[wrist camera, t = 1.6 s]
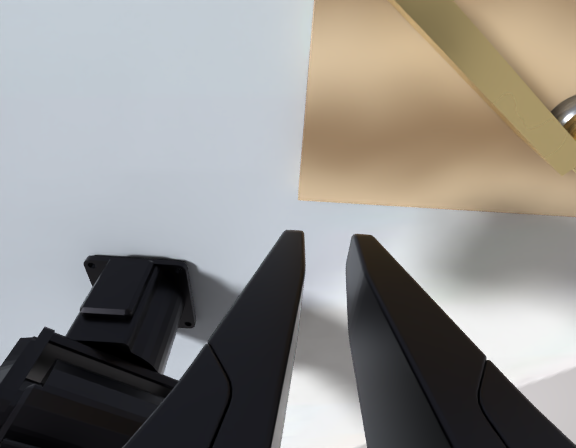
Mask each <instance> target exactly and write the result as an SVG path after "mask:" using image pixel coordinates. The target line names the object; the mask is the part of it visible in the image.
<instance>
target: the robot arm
mask: <svg viewBox="0 0 576 448" xmlns="http://www.w3.org/2000/svg"><path fill="white" fill-rule="evenodd" d="M305 266H306V264H305V240H304V232H303V231H298V230H285V231H284V232H283V234H282V235H281V236H280V238H279V239H278V241H277V242H276V244H275V245H274V246H273V248H272V249H271V251H270V252H269V254H268V255H267V257H266V258H265V259H264V261H263V262H262V264H261V265H260V267H259V268H258V269H257V271H256V272H255V274H254V275H253V277H252V278H251V280H250V281H249V282H248V284H247V285H246V287H245V288H244V290H243V291H242V293H241V294H240V295H239V297H238V298H237V300H236V301H235V303H234V304H233V305H232V307H231V308H230V310H229V311H228V313H227V314H226V316H225V317H224V318H223V320H222V321H221V323H220V324H219V326H218V327H217V328H216V330H215V331H214V333H213V334H212V336H211V337H210V339H209V340H208V344H205V345H204V347H203V348H202V350H201V351H200V353H199V354H198V355H197V357H196V358H195V360H194V361H193V363H192V364H191V365H190V367H189V368H188V369H187V371H186V372H185V373H184V375H183V376H182V377H181V379H180V380H179V381H178V380H175V379H173V378H170V377H168V376H165V375H163V373H164V370H165V367H166V364H167V361H168V358H169V354H170V351H171V348H172V345H173V342H174V339H175V336H176V332H177V329H178V328H193V327H194V326H195V323H196V316H195V310H194V303H193V297H192V291H191V285H190V279H189V273H188V267H187V264H185V263H184V262H182V261H175V260H158V259H141V258H124V257H107V256H88V257H87V259H86V260H85V262H84V267H85V269H86V272H87V274H88V277H89V279H90V282H91V284H92V286H93V287H92V289H91V291H90V292H89V294H88V296H87V297H86V299H85V301H84V302H83V304H82V306H81V307H80V312H79V314H78V316H77V317H76V319H75V321H74V322H73V324H72V326H71V327H70V329H69V331H68V332H67V334H66V336H62V335H60V334H57V333H55V330H52V329H50V328H47V327H44V329H43V330H42V331H41V333H40V334H39V336H38V337H31V338H20V339H19V341H18V342H17V344H16V345H15V346H14V348H13V349H12V351H11V352H10V354H9V355H8V356H7V358H6V359H5V361H4V362H3V363H2V365H1V366H0V448H280V446H281V439H282V433H283V427H284V421H285V414H286V408H287V402H288V396H289V389H290V383H291V377H292V371H293V364H294V358H295V352H296V346H297V339H298V331H299V322H300V314H301V305H302V296H303V288H304V279H305ZM178 268H180V269H178ZM346 291H347V315H348V333H349V341H350V348H351V354H352V360H353V366H354V372H355V378H356V384H357V390H358V396H359V402H360V408H361V414H362V419H363V425H364V431H365V437H366V443H367V448H576V445H575V444H574V443H573V442H572V441H571V440H570V439H568V438H567V437H566V436H565V435H564V434H563V433H562V432H561V431H560V430H559V429H558V428H557V427H556V426H555V425H554V424H553V423H552V422H550V421H549V420H548V419H547V418H546V417H545V416H544V415H543V414H542V413H541V412H540V411H539V410H538V409H537V408H536V407H535V406H534V405H533V404H532V403H531V402H530V401H529V400H528V399H527V398H526V397H525V396H524V395H523V394H522V393H521V392H520V391H519V390H518V389H517V388H516V387H515V386H514V385H513V384H512V383H511V382H510V381H509V380H508V379H507V378H506V377H505V376H504V374H503V373H502V372H501V371H500V370H499V369H498V368H497V367H496V366H495V365H494V364H493V363H492V362H491V361H490V360H486V356H485V355H484V353H483V352H482V351H481V350H480V349H479V348H478V347H477V346H476V345H475V344H474V343H473V342H472V341H471V340H470V339H469V338H468V336H467V335H466V334H465V333H464V332H463V331H462V330H461V329H460V328H459V327H458V326H457V325H456V324H455V323H454V322H453V320H452V319H451V318H450V317H449V316H448V315H447V314H446V313H445V312H444V311H443V310H442V309H441V308H440V307H439V306H438V305H437V303H436V302H435V301H434V300H433V299H432V298H431V297H430V296H429V295H428V294H427V293H426V292H425V291H424V290H423V289H422V288H421V286H420V285H419V284H418V283H417V282H416V281H415V280H414V279H413V278H412V277H411V276H410V275H409V274H408V273H407V272H406V271H405V269H404V268H403V267H402V266H401V265H400V264H399V263H398V262H397V261H396V260H395V259H394V258H393V257H392V256H391V255H390V254H389V252H388V251H387V250H386V249H385V248H384V247H383V246H382V245H381V244H380V243H379V242H378V241H377V240H376V239H375V238H374V237H373V236H372V235H365V234H354V235H353V236H352V238H351V242H350V247H349V252H348V256H347V261H346Z"/></svg>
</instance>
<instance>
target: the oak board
mask: <svg viewBox="0 0 576 448" xmlns="http://www.w3.org/2000/svg"><path fill="white" fill-rule="evenodd" d="M453 1H454V2H455V3H456V4H457V5H458V6H459V8H460V9H461V10H462V11H463V12H464V13H465V14H466V16H467V17H468V18H469V19H470V20H471V21H472V23H473V24H474V25H475V26H476V27H477V28H478V29H479V31H480V32H481V33H482V34H483V35H484V36H485V37H486V39H487V40H488V41H489V42H490V43H491V44H492V45H493V47H494V48H495V49H496V50H497V51H498V52H499V54H500V55H501V56H502V57H503V58H504V59H505V60H506V62H507V63H508V64H509V65H510V66H511V67H512V68H513V70H514V71H515V72H516V73H517V74H518V75H519V77H520V78H521V79H522V80H523V81H524V82H525V83H526V85H527V86H528V87H529V88H530V89H531V90H532V91H533V93H534V94H535V95H536V96H537V97H538V98H539V100H540V101H541V102H542V103H543V104H544V105H545V106H546V108H547V109H548V110H549V111H550V112H551V111H552V110H553V109H554V108H555V107H556V106H557V105H558V104H560V103H561V102H562V101H564V100H566V99H567V98H569V97H571V96H574V95H576V0H453ZM298 200H303V201H320V202H336V203H353V204H369V205H386V206H402V207H419V208H435V209H452V210H468V211H485V212H501V213H518V214H534V215H551V216H567V217H576V173H575V172H574V171H573V170H570V171H569V172H568V173H566V174H565V175H563V176H561V175H560V174H559V173H558V172H557V171H555V170H554V169H553V168H552V167H551V166H550V165H549V164H548V163H547V162H546V161H545V160H543V159H542V158H541V157H540V156H539V155H538V154H537V153H536V152H535V151H534V150H533V149H531V148H530V147H529V146H528V145H527V144H526V143H525V142H524V141H523V140H522V139H521V138H520V137H518V136H517V135H516V134H515V133H514V132H513V131H512V130H511V129H510V128H509V127H508V126H507V125H506V123H505V122H504V121H503V120H502V119H501V118H500V117H499V116H498V115H497V114H496V113H495V112H494V111H493V110H492V109H491V108H490V107H489V106H488V105H487V104H486V103H485V102H484V101H483V100H482V98H481V97H480V96H479V95H478V94H477V93H476V92H475V91H474V90H473V89H472V88H471V87H470V86H469V85H468V84H467V83H466V82H465V81H464V80H463V79H462V78H461V77H460V76H459V75H458V73H457V72H456V71H455V70H454V69H453V68H452V67H451V66H450V65H449V64H448V63H447V62H446V61H445V60H444V59H443V58H442V57H441V56H440V55H439V54H438V53H437V52H436V51H435V49H434V48H433V47H432V46H431V45H430V44H429V43H428V42H427V41H426V40H425V39H424V38H423V37H422V36H421V35H420V34H419V33H418V32H417V31H416V30H415V29H414V28H413V27H412V26H411V24H410V23H409V22H408V21H407V20H406V19H405V18H404V17H403V16H402V15H401V14H400V13H399V12H398V11H397V10H396V9H395V8H394V7H393V6H392V5H391V4H390V3H389V2H388V0H314V9H313V21H312V33H311V45H310V57H309V69H308V81H307V93H306V105H305V117H304V129H303V141H302V153H301V165H300V178H299V190H298Z"/></svg>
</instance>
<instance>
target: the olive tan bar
mask: <svg viewBox="0 0 576 448" xmlns="http://www.w3.org/2000/svg"><path fill="white" fill-rule="evenodd" d="M388 2H389V3H390V4H391V5H392V6H393V7H394V8H395V9H396V10H397V11H398V12H399V13H400V14H401V15H402V16H403V17H404V18H405V19H406V20H407V21H408V22H409V23H410V24H411V26H412V27H413V28H414V29H415V30H416V31H417V32H418V33H419V34H420V35H421V36H422V37H423V38H424V39H425V40H426V41H427V42H428V43H429V44H430V45H431V46H432V47H433V48H434V49H435V51H436V52H437V53H438V54H439V55H440V56H441V57H442V58H443V59H444V60H445V61H446V62H447V63H448V64H449V65H450V66H451V67H452V68H453V69H454V70H455V71H456V72H457V73H458V75H459V76H460V77H461V78H462V79H463V80H464V81H465V82H466V83H467V84H468V85H469V86H470V87H471V88H472V89H473V90H474V91H475V92H476V93H477V94H478V95H479V96H480V97H481V98H482V100H483V101H484V102H485V103H486V104H487V105H488V106H489V107H490V108H491V109H492V110H493V111H494V112H495V113H496V114H497V115H498V116H499V117H500V118H501V119H502V120H503V121H504V122H505V123H506V125H507V126H508V127H509V128H510V129H511V130H512V131H513V132H514V133H515V134H516V135H517V136H518V137H520V138H521V139H522V140H523V141H524V142H525V143H526V144H527V145H528V146H529V147H530V148H531V149H533V150H534V151H535V152H536V153H537V154H538V155H539V156H540V157H541V158H542V159H543V160H545V161H546V162H547V163H548V164H549V165H550V166H551V167H552V168H553V169H554V170H555V171H557V172H558V173H559V174H560V175H561V176H563V175H565V174H566V173H568V172H569V171H570V170H573V171H574V172H575V173H576V114H575V115H574V116H573V117H572V118H570V119H569V120H568V121H567V122H566V123H565V125H564V126H562V125H561V124H560V123H559V121H558V120H557V119H556V118H555V117H554V116H553V114H552V113H551V112H550V111H549V110H548V109H547V108H546V106H545V105H544V104H543V103H542V102H541V101H540V100H539V98H538V97H537V96H536V95H535V94H534V93H533V91H532V90H531V89H530V88H529V87H528V86H527V85H526V83H525V82H524V81H523V80H522V79H521V78H520V77H519V75H518V74H517V73H516V72H515V71H514V70H513V68H512V67H511V66H510V65H509V64H508V63H507V62H506V60H505V59H504V58H503V57H502V56H501V55H500V54H499V52H498V51H497V50H496V49H495V48H494V47H493V45H492V44H491V43H490V42H489V41H488V40H487V39H486V37H485V36H484V35H483V34H482V33H481V32H480V31H479V29H478V28H477V27H476V26H475V25H474V24H473V23H472V21H471V20H470V19H469V18H468V17H467V16H466V14H465V13H464V12H463V11H462V10H461V9H460V8H459V6H458V5H457V4H456V3H455V2H454V1H453V0H388Z"/></svg>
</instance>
